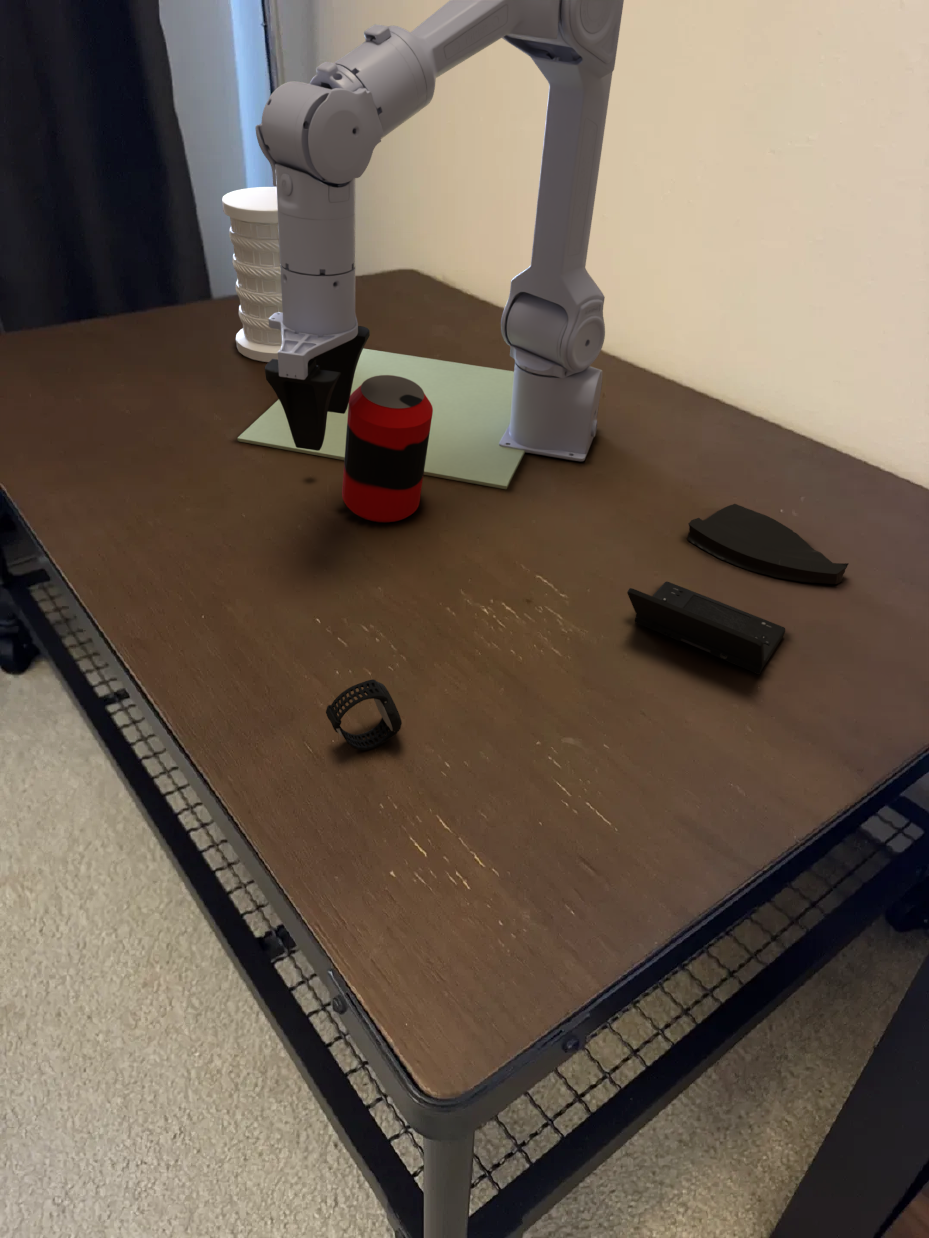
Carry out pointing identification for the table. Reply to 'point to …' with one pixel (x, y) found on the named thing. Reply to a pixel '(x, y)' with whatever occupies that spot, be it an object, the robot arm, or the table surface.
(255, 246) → the decorative container
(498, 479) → the mat
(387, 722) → the smartwatch
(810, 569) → the curved wedge
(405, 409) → the soda can
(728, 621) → the handheld gaming console
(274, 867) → the table surface
